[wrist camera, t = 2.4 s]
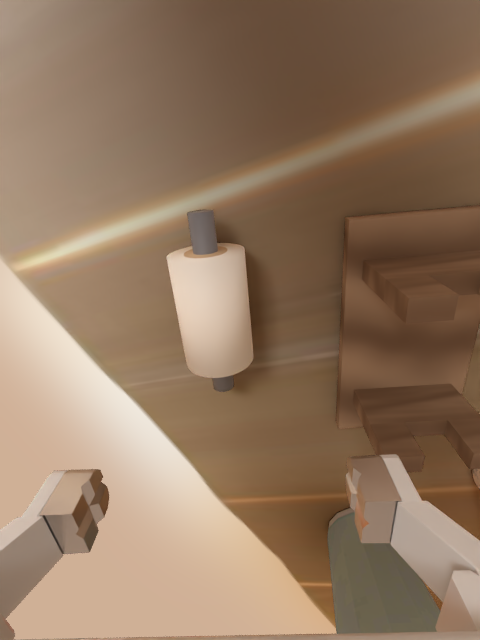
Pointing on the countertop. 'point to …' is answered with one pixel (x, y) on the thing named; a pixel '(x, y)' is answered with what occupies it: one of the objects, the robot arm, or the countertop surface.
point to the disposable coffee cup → (375, 585)
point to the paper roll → (212, 303)
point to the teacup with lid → (476, 476)
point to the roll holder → (410, 330)
